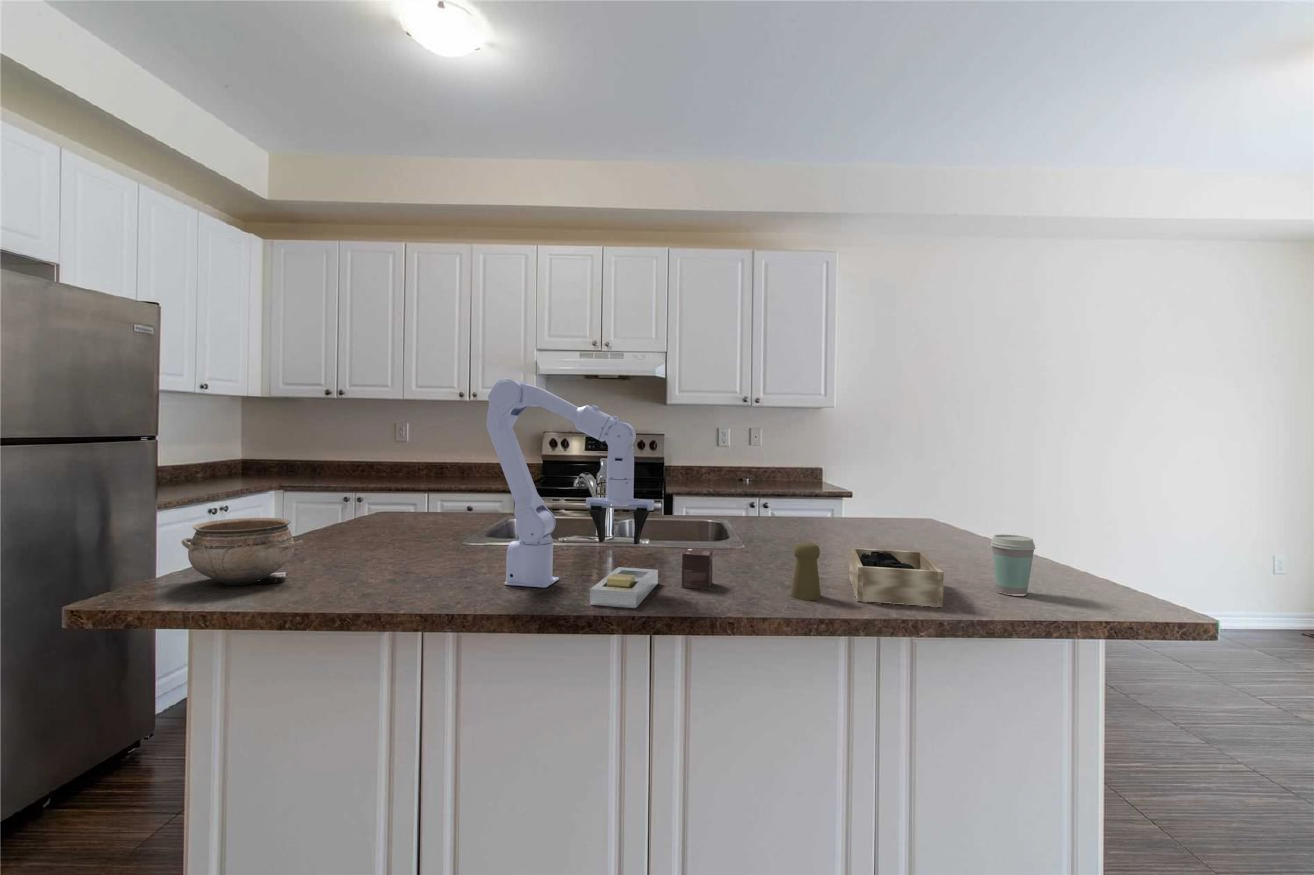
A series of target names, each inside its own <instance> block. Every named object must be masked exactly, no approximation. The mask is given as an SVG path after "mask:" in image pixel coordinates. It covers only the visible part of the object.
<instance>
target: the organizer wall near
mask: <svg viewBox="0 0 1314 875" xmlns="http://www.w3.org/2000/svg"><path fill="white" fill-rule="evenodd" d="M937 599H938V571H934V570H917V569H901V568H884V567H868V566H863V600H862V601H876V602H891V603H904V604H914V605H925V606H937Z"/></svg>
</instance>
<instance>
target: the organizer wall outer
mask: <svg viewBox="0 0 1314 875" xmlns="http://www.w3.org/2000/svg"><path fill="white" fill-rule="evenodd" d="M919 552H920V564H919V570H934V571H938V599H937V606H938V607H944V581H945V580H944V576H945V575H944V574H945V573H944V571H943V570H942V569H941V568H940V567H939V566H938V565H937V564H936V563H935V562H934V561H933V560H932V559H931V558H930V556H929V555H927V554H926V553H925V552H924V551H919Z"/></svg>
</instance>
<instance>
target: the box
mask: <svg viewBox="0 0 1314 875" xmlns="http://www.w3.org/2000/svg"><path fill="white" fill-rule="evenodd" d="M681 557H682V558H681V588H685V589H686V588H688V589H689V588H690V589H692V588H693V589H704V590H708V589H710V588H711V586H712V584H713V549H711V550H710V549H697V548H696V549H694V548H693V549H692V548H687V549H685V550H684V551H683V552H682V555H681Z"/></svg>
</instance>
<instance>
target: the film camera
mask: <svg viewBox="0 0 1314 875" xmlns="http://www.w3.org/2000/svg"><path fill="white" fill-rule="evenodd" d="M859 559H860V561H861V563H862V565H863V566H868V567H884V568H901V569H915V568H914V567H913V566H912V565H910V564H906V563H901V561H898V559H896V558H895V557H894V556H893V555H891V554H890V553H887V552H882V553H881V552H879V551H874V552H871V555H869V554H866V553H863V554H862V555H861V557H860V558H859Z"/></svg>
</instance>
